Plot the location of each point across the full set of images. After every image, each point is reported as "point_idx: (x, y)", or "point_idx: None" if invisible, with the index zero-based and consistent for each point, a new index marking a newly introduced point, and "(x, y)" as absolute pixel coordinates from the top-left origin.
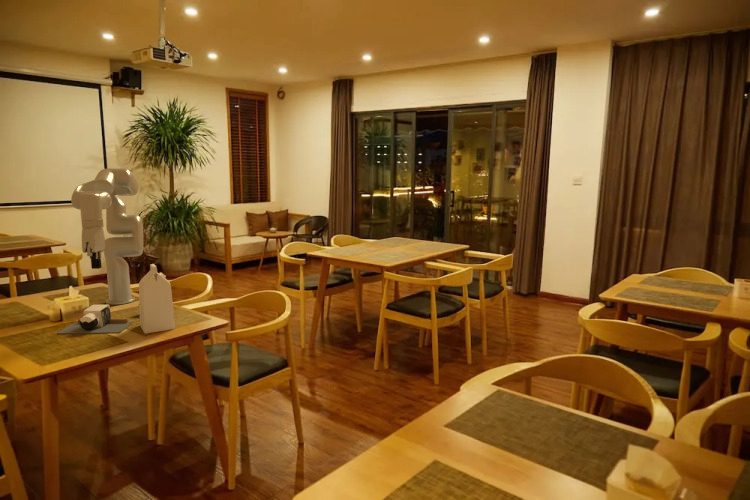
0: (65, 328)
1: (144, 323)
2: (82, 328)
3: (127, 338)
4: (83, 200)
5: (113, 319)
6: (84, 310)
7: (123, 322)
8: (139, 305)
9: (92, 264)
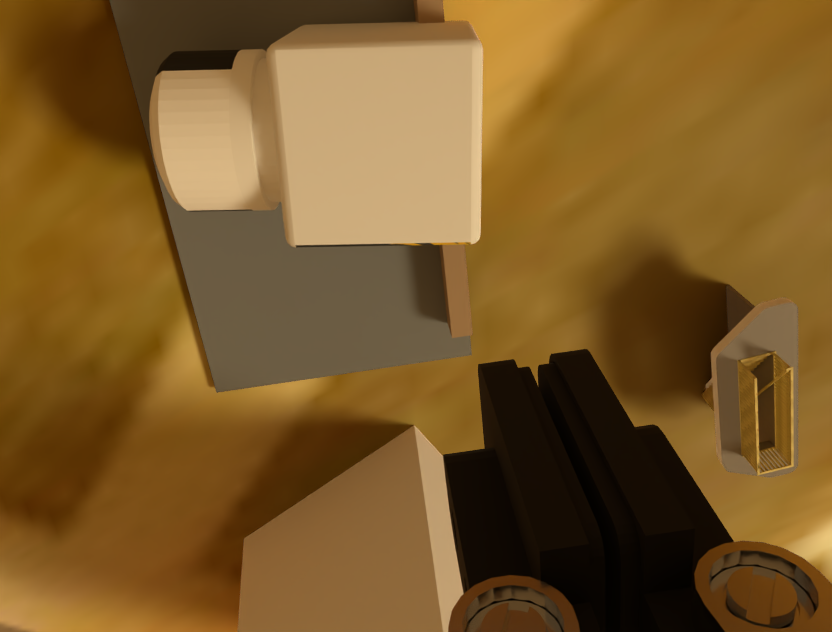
0: None
1: (240, 594)
2: (251, 22)
3: (125, 492)
4: None
5: None
6: (278, 57)
7: (445, 295)
8: (748, 314)
9: (451, 488)
